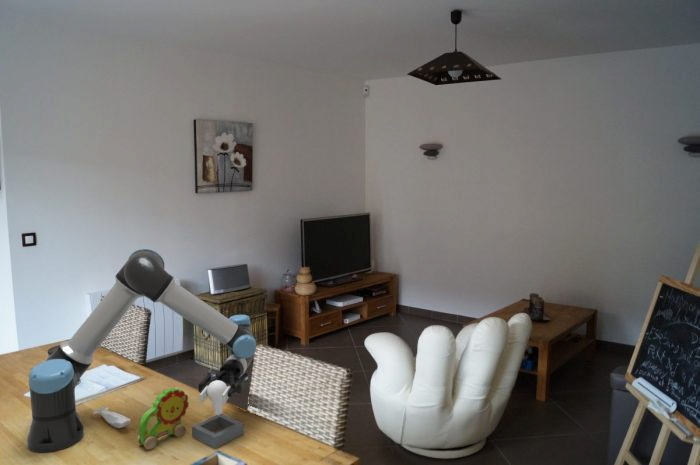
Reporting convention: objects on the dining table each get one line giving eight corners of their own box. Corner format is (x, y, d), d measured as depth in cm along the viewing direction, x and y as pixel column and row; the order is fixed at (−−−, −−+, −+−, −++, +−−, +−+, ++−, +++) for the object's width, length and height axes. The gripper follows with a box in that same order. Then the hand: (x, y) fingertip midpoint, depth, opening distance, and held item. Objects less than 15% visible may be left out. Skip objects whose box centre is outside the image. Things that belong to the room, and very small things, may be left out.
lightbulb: (231, 410, 168) (229, 377, 167) (224, 420, 162) (223, 385, 161) (212, 410, 169) (210, 376, 167) (205, 419, 163) (203, 384, 161)
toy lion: (146, 452, 157) (143, 403, 155) (136, 446, 160) (133, 397, 158) (192, 431, 169) (191, 385, 167) (182, 426, 172) (180, 381, 170)
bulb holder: (214, 448, 158) (214, 437, 158) (192, 437, 165) (191, 426, 165) (243, 434, 167) (243, 423, 167) (221, 423, 174) (220, 413, 173)
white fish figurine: (118, 435, 166) (118, 423, 166) (92, 419, 178) (91, 407, 177) (135, 428, 170) (134, 416, 170) (108, 413, 182) (108, 402, 181)
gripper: (261, 380, 182) (244, 411, 159) (206, 379, 183) (181, 410, 160) (260, 359, 181) (243, 387, 158) (205, 358, 182) (179, 386, 159)
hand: (212, 399), depth 159 cm, fingers closed on lightbulb, 6 cm apart
